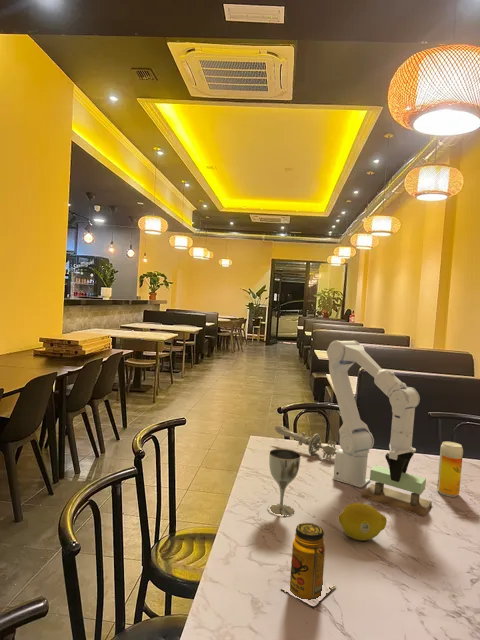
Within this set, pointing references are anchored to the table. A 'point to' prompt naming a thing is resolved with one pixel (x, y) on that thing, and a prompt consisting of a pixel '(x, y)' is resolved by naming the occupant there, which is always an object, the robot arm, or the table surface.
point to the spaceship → (310, 442)
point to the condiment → (307, 562)
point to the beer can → (450, 468)
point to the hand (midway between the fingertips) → (398, 477)
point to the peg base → (397, 499)
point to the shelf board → (405, 483)
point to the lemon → (361, 521)
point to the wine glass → (283, 474)
